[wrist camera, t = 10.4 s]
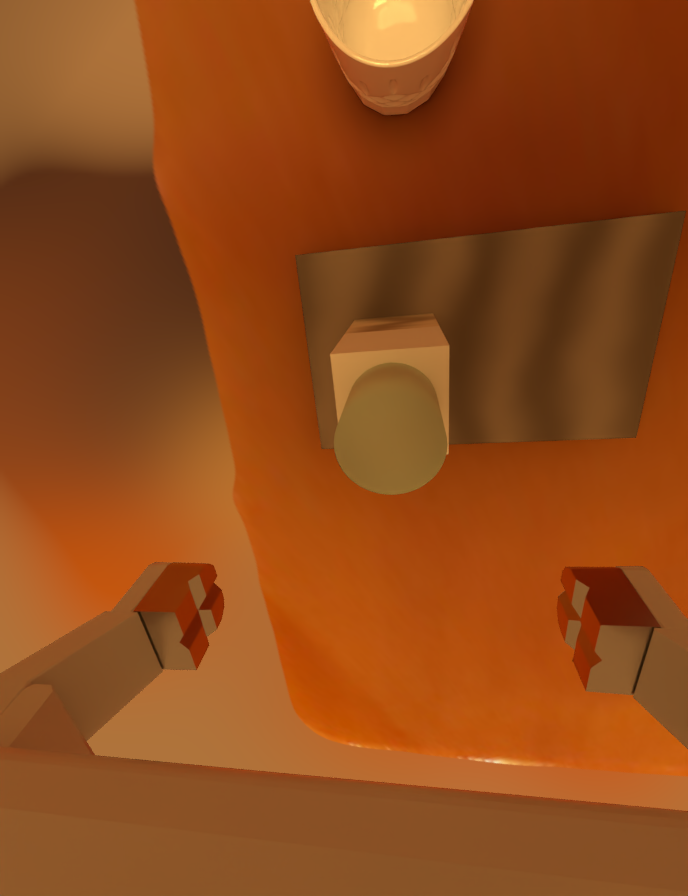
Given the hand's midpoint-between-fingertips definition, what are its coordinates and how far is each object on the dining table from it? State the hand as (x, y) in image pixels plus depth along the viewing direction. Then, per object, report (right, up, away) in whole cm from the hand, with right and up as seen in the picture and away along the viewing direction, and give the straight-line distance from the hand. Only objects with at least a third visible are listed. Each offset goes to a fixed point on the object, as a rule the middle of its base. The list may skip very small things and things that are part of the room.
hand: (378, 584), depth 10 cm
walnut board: (+9, +12, +23) cm, 28 cm away
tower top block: (+2, +8, +17) cm, 19 cm away
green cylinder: (+2, +5, +12) cm, 13 cm away
